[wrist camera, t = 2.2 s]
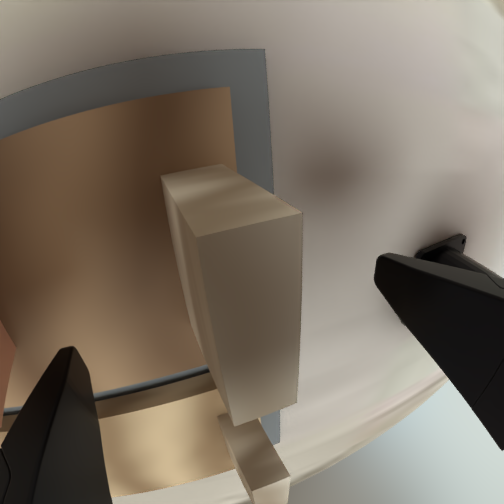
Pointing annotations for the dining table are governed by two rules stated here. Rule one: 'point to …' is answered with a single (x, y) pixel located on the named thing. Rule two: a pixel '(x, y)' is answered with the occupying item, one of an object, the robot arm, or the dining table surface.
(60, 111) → the lane mat
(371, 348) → the dining table surface
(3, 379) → the block
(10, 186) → the darker brown strip
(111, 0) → the dining table surface
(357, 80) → the dining table surface
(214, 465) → the tan piece
